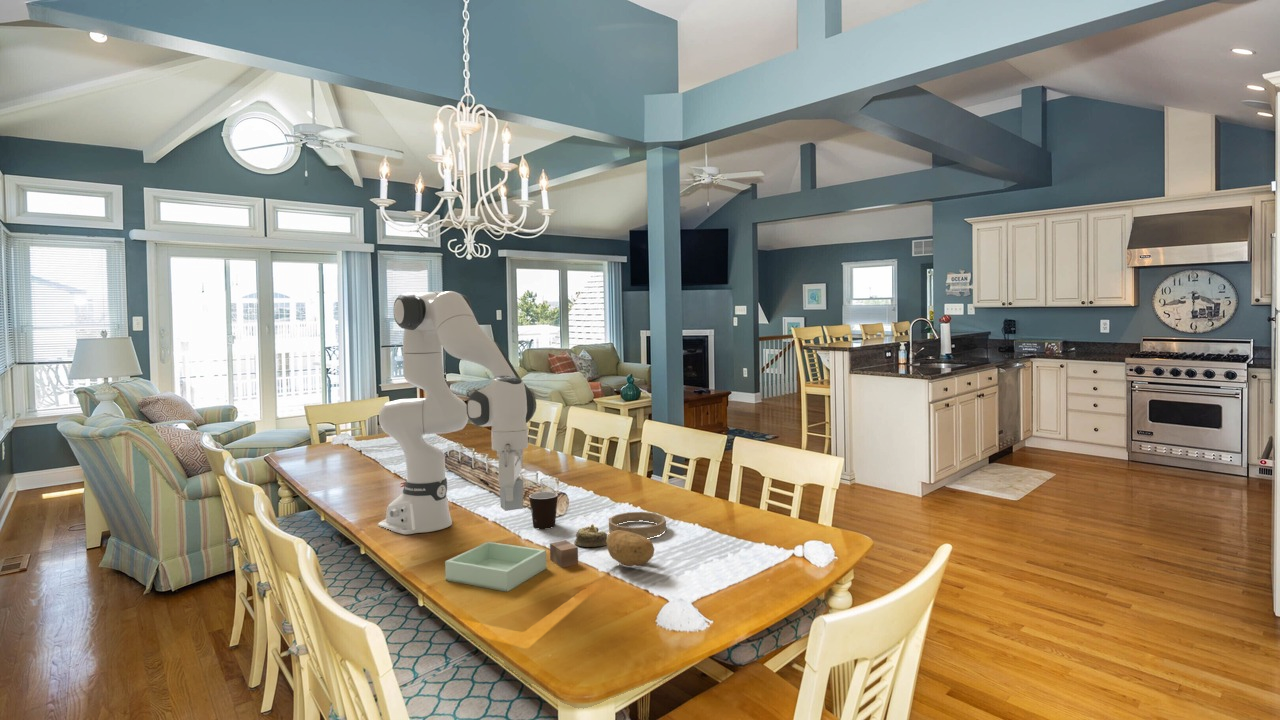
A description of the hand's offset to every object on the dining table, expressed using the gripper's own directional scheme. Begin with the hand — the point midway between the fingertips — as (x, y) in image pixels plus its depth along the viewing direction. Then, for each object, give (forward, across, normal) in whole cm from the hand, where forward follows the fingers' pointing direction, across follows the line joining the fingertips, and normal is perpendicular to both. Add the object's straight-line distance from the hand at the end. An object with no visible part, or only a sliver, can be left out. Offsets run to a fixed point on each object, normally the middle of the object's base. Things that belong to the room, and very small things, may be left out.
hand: (511, 497), depth 158 cm
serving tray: (+18, -2, +4) cm, 19 cm away
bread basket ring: (+18, +27, -34) cm, 47 cm away
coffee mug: (+18, +36, -6) cm, 41 cm away
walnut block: (+16, +7, -11) cm, 21 cm away
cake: (+18, +19, -20) cm, 33 cm away
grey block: (+3, 0, 0) cm, 3 cm away
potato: (+18, 0, -29) cm, 35 cm away
